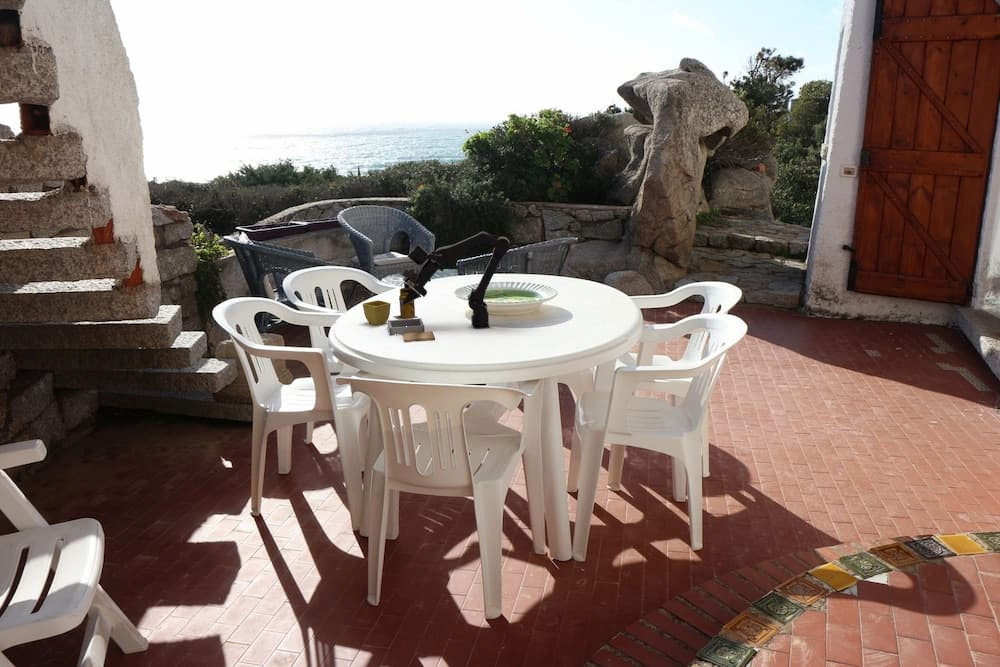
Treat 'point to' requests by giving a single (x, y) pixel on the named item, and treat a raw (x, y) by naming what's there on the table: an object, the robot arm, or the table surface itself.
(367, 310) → the flower pot
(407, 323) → the parts tub
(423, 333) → the walnut board
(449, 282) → the table surface
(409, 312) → the condiment
